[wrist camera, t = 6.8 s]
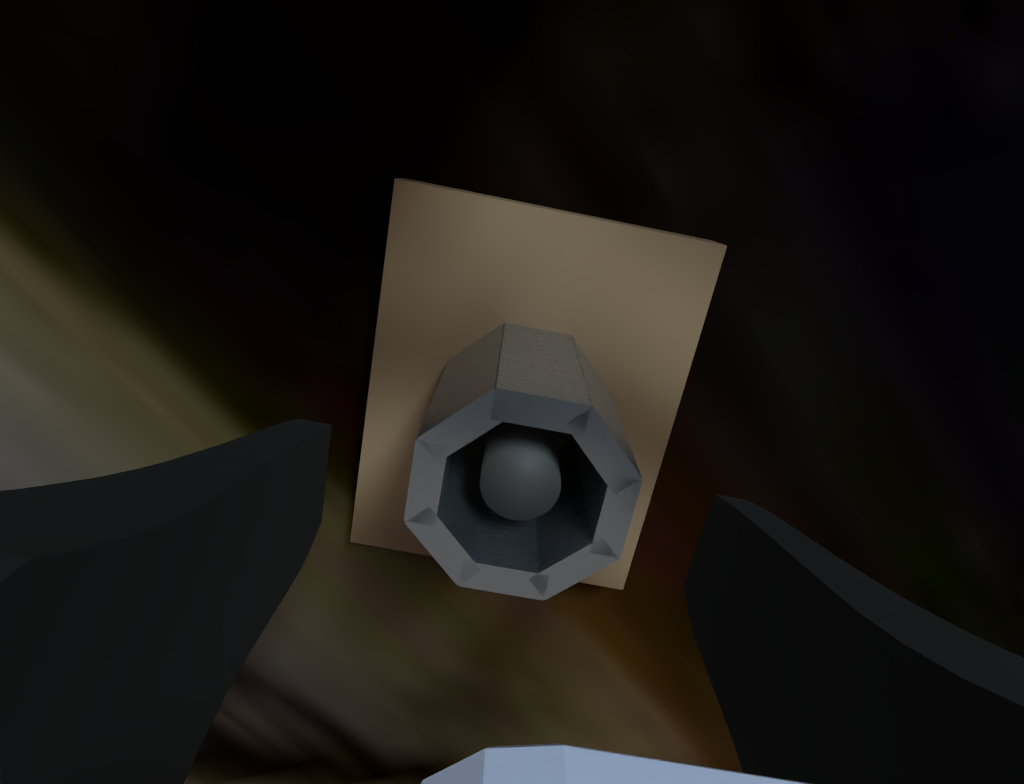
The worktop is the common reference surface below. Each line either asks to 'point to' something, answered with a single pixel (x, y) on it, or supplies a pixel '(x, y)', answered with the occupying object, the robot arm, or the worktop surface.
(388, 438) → the shaft block
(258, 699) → the worktop surface
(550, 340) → the tube
